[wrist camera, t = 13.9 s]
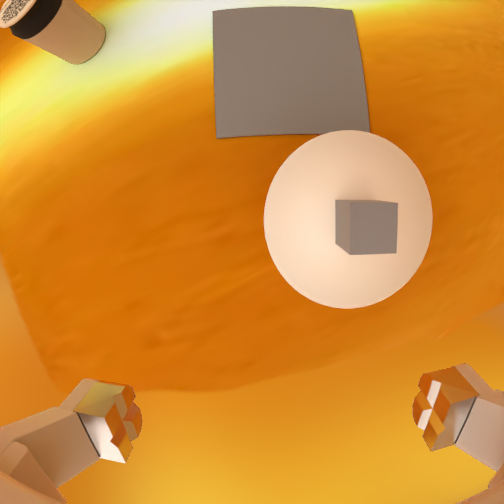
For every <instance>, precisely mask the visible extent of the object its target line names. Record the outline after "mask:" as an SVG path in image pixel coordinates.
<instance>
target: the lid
mask: <svg viewBox="0 0 504 504" xmlns="http://www.w3.org/2000/svg"><path fill="white" fill-rule="evenodd" d="M264 229H265V237H266V242H267V246H268V249H269V252H270V254H271V257H272V260H273V261H274V263H275V265H276V267H277V269H278V270H279V272H280V273H281V275H282V276H283V277H284V279H285V280H286V281H287V282H288V283H289V284H290V285H291V286H292V287H293V288H294V289H295V290H297V291H298V292H299V293H300V294H302V295H304V296H305V297H307V298H309V299H310V300H312V301H315V302H317V303H319V304H322V305H326V306H330V307H335V308H359V307H365V306H368V305H372V304H375V303H377V302H380V301H382V300H384V299H386V298H387V297H389V296H391V295H393V294H394V293H395V292H397V291H398V290H399V289H401V288H402V287H403V286H404V285H405V284H406V283H407V282H408V281H409V280H410V278H411V277H412V276H413V275H414V273H415V272H416V271H417V269H418V267H419V266H420V264H421V262H422V260H423V258H424V256H425V254H426V251H427V248H428V245H429V242H430V237H431V232H432V206H431V199H430V195H429V192H428V188H427V186H426V183H425V181H424V178H423V177H422V175H421V173H420V171H419V169H418V168H417V167H416V165H415V164H414V162H413V161H412V160H411V159H410V158H409V157H408V156H407V154H406V153H405V152H404V151H402V150H401V149H400V148H399V147H397V146H396V145H395V144H393V143H392V142H390V141H388V140H387V139H385V138H382V137H380V136H378V135H375V134H372V133H368V132H364V131H356V130H341V131H334V132H329V133H326V134H323V135H320V136H318V137H315V138H313V139H311V140H309V141H308V142H306V143H305V144H303V145H302V146H300V147H299V148H298V149H296V150H295V151H294V152H293V153H292V154H291V155H290V156H289V157H288V158H287V159H286V161H285V162H284V163H283V164H282V165H281V167H280V168H279V170H278V172H277V173H276V175H275V176H274V179H273V181H272V183H271V185H270V188H269V191H268V194H267V198H266V203H265V209H264Z"/></svg>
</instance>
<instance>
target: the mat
mask: <svg viewBox="0 0 504 504" xmlns="http://www.w3.org/2000/svg"><path fill="white" fill-rule="evenodd" d="M213 53H214V87H215V114H216V136H217V138H229V137H243V136H261V135H289V134H326V133H329V132H334V131H341V130H356V131H364V132H368V133H370V125H369V115H368V105H367V96H366V88H365V80H364V73H363V66H362V60H361V54H360V48H359V42H358V37H357V32H356V27H355V22H354V17H353V12H352V10H343V9H332V8H317V7H253V8H238V9H227V10H218V11H213Z"/></svg>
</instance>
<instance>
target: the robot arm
mask: <svg viewBox="0 0 504 504" xmlns="http://www.w3.org/2000/svg"><path fill="white" fill-rule="evenodd" d="M418 386H419V388H420V389H421V391H420V392H419V393H418V395H417V396H416V397H415V399H414V403H413V417H414V421H415V423H416V425H417V427H419V428H421V429H423V430H424V434H423V438H424V440H425V442H426V444H427V446H428V447H429V449H430V451H434V450H438V449H441V448H444V447H448V446H451V445H454V444H455V446H456V447H458V448H459V449H461V450H463V451H464V452H466V453H467V454H469V455H471V456H472V457H474V458H475V459H477V460H479V461H480V462H482V463H484V464H485V465H487V466H488V467H490V468H492V469H493V470H495V471H496V472H497V473H496V474H495V476H494V477H493V478H492V480H491V481H490V483H489V485H488V488H489V489H487V490H485V491H483V492H481V493H479V494H477V495H475V496H472V497H470V498H468V499H466V500H464V501H461V502H459V503H457V504H504V392H503V391H500V390H494V391H493V389H491V387H489V385H488V384H487V383H486V382H485V381H484V380H483V379H482V378H481V377H480V376H479V375H478V374H477V373H476V372H475V371H474V370H473V369H472V368H471V366H470V365H468V364H466V363H464V364H460V365H456V366H453V367H451V368H447V369H443V370H439V371H434V372H430V373H425V374H423V375H422V377H421V378H420V381H419V385H418ZM134 398H135V393H134V391H133V388H132V387H131V386H129V385H126V384H119V383H113V382H107V381H102V380H100V381H99V380H95V379H89V378H85V379H82V381H81V382H80V383H79V384H78V385H77V386H76V388H75V389H74V390H73V391H72V392H71V393H70V394H69V396H68V397H67V398H66V399H65V400H64V402H63V403H62V404H61V405H60V406H59V407H52V408H50V409H47V410H45V411H42V412H40V413H37V414H35V415H32V416H30V417H27V418H24V419H22V420H19V421H16V422H14V423H11V424H8V425H5V426H3V427H0V504H66V503H67V502H66V499H65V497H64V496H63V495H62V494H61V493H60V492H59V490H58V489H57V487H59V486H61V485H62V484H64V483H65V482H67V481H68V480H70V479H71V478H73V477H74V476H76V475H77V474H79V473H80V472H82V471H83V470H85V469H86V468H88V467H89V466H91V465H92V464H94V463H95V462H96V461H98V460H99V459H100V458H104V459H108V460H113V461H117V462H122V463H126V461H127V459H128V457H129V455H130V453H131V451H132V449H133V446H132V444H131V441H132V440H134V439H136V438H137V437H138V436H139V433H140V432H141V427H142V415H141V412H140V408H139V407H138V406H137V405H136V404H135V403H134V402H133V400H134Z"/></svg>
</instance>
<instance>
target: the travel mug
mask: <svg viewBox="0 0 504 504" xmlns="http://www.w3.org/2000/svg"><path fill="white" fill-rule="evenodd" d="M0 27H2V28H7V27H9V28H10V29H11V31H12V34H13V35H15V36H17V37H19V38H21V39H23V40H25V41H27V42H30V43H32V44H34V45H36V46H38V47H40V48H42V49H44V50H46V51H48V52H50V53H52V54H54V55H56V56H58V57H60V58H62V59H64V60H66V61H67V62H69V63H71V64H80V63H83V62H85V61H87V60H89V59H90V58H91V57H93V56H94V55H95V54H96V53H97V52H98V50H99V49H100V47H101V46H102V44H103V42H104V39H105V28H104V26H103V25H102V24H101V23H99V22H98V21H97V20H96V19H95V18H93V17H92V16H91V15H90V14H89V13H88V12H86V11H85V10H84V9H83V8H81V7H80V6H79V5H78V4H77V3H75V2H74V1H73V0H6V2H5V3H4V5H3V7H2V9H1V11H0Z"/></svg>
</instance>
